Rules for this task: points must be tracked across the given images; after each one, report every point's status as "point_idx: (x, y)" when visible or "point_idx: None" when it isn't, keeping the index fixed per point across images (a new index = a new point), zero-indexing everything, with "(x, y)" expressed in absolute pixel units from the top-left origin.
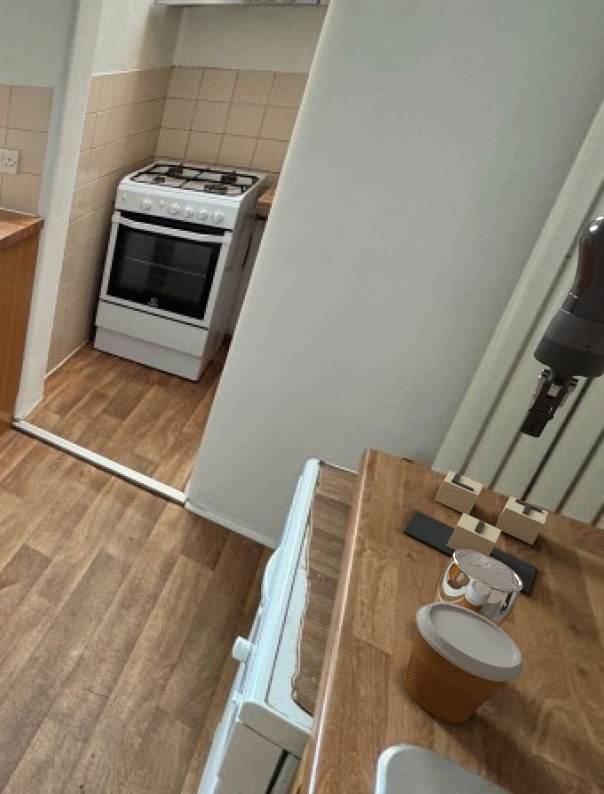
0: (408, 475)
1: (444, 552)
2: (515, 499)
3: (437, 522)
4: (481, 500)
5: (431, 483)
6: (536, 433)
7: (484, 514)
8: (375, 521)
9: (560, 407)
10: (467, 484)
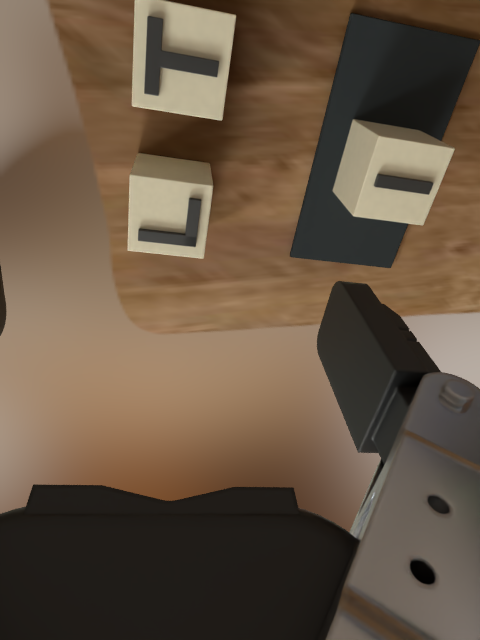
0: (131, 281)
1: None
2: (140, 92)
3: (310, 220)
4: (92, 135)
5: (120, 240)
6: (400, 318)
7: (166, 128)
8: None
9: (459, 456)
10: (170, 211)
